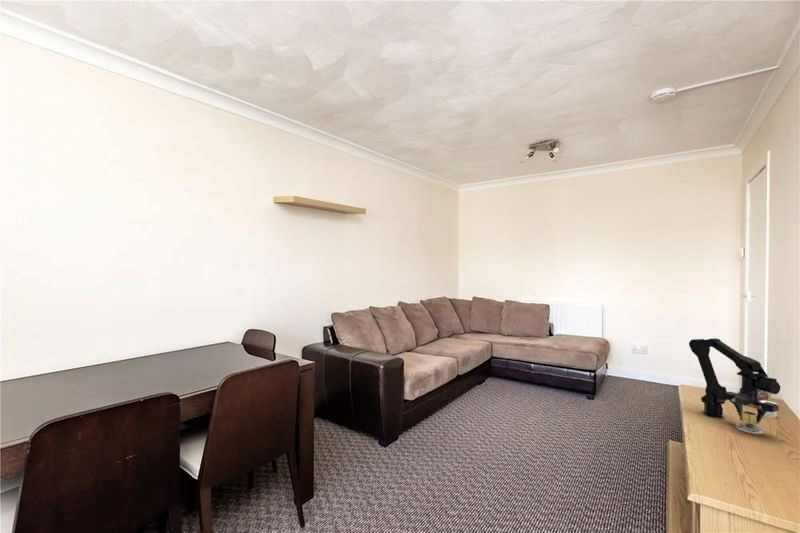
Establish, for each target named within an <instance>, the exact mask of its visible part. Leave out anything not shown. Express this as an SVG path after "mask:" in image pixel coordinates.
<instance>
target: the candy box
mask: <svg viewBox="0 0 800 533" xmlns="http://www.w3.org/2000/svg"><path fill="white" fill-rule="evenodd" d="M771 396H772V393H768V392H765V391H762V390H760V392H758V398H759V401H758V402H760V400H765V401H771V399H772V398H771ZM771 402H772V401H771ZM748 407H752V408H756V409H758V408H760V407H759V406H757V405H754V404H749V405H748Z"/></svg>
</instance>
